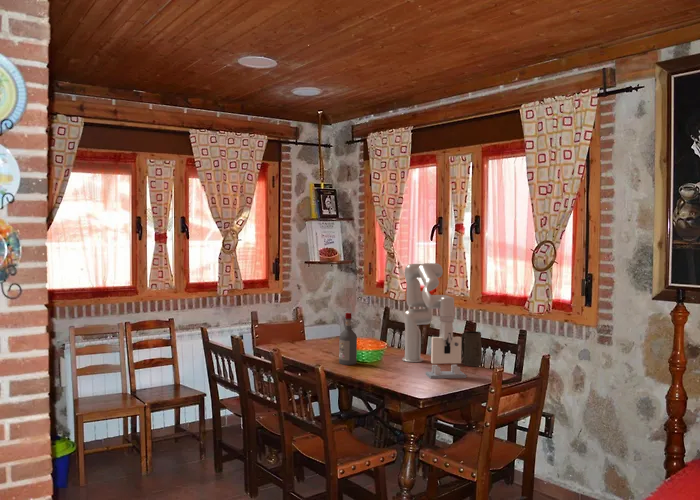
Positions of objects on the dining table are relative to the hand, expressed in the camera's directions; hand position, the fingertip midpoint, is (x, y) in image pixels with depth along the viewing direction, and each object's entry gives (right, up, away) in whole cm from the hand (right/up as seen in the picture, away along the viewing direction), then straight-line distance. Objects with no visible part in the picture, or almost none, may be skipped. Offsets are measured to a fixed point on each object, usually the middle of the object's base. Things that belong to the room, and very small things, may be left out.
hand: (446, 352), depth 330 cm
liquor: (-54, -12, +30) cm, 63 cm away
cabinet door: (0, -6, 0) cm, 6 cm away
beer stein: (+19, -13, +34) cm, 41 cm away
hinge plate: (0, -13, 0) cm, 13 cm away
